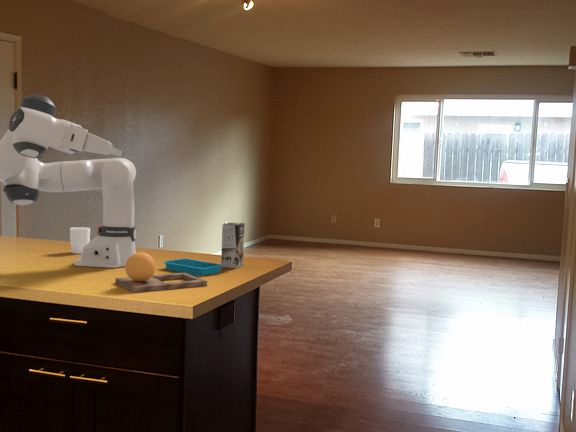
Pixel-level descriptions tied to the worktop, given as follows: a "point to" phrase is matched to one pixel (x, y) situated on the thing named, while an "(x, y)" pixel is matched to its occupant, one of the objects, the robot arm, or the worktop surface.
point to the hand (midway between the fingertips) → (114, 153)
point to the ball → (140, 267)
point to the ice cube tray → (193, 266)
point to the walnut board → (157, 284)
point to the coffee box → (232, 245)
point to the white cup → (79, 238)
